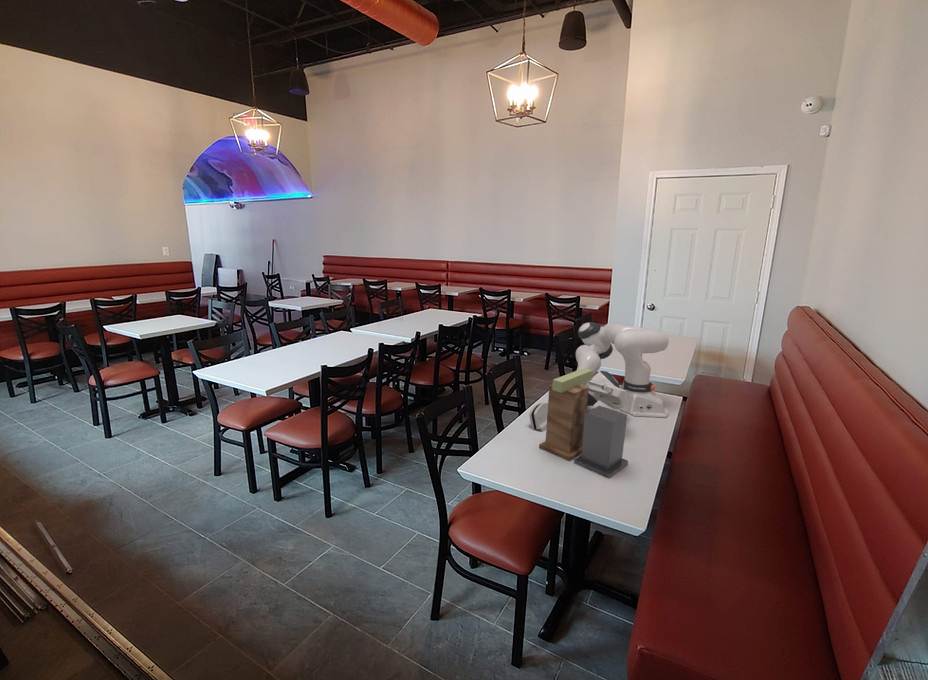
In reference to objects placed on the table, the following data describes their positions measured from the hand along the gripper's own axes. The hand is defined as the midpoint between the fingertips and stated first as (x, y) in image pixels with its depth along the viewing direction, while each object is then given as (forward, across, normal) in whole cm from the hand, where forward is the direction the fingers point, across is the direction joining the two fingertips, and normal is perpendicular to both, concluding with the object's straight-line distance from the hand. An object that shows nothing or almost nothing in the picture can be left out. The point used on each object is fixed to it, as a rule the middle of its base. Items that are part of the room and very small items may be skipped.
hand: (593, 384), depth 183 cm
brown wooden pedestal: (+5, 0, +29) cm, 29 cm away
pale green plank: (+16, 0, +5) cm, 16 cm away
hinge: (-6, -19, +23) cm, 31 cm away
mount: (+5, +16, +28) cm, 33 cm away
